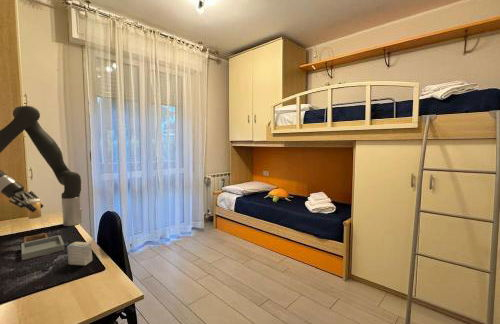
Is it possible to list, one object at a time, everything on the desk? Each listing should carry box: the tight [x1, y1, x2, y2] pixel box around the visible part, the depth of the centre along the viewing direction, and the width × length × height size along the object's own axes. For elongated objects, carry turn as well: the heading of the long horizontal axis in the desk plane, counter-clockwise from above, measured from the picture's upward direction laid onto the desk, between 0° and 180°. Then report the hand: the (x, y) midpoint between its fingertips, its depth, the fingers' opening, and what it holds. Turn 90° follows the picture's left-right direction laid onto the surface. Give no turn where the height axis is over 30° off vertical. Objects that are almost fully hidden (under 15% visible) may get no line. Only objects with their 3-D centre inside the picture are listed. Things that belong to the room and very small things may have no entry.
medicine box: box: [66, 241, 93, 266], centre depth 105 cm, size 8×4×9 cm, turn 84°
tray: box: [20, 234, 65, 261], centre depth 117 cm, size 15×15×3 cm
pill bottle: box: [26, 198, 42, 220], centre depth 122 cm, size 5×5×9 cm
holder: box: [23, 232, 49, 243], centre depth 126 cm, size 9×9×2 cm
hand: (38, 208), depth 122 cm, fingers closed on pill bottle, 5 cm apart
